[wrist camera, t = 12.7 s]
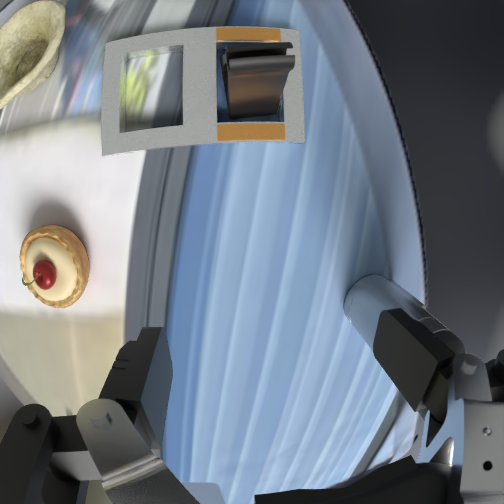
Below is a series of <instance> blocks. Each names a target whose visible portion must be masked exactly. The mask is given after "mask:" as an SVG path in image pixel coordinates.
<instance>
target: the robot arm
mask: <svg viewBox="0 0 504 504" xmlns="http://www.w3.org/2000/svg"><path fill="white" fill-rule="evenodd" d="M344 311H345V315H346V317H347V318H348V320H349V321H350V322H351V323H352V325H353V326H354V327H355V328H356V330H357V331H358V332H359V334H360V335H361V336H362V338H363V339H364V340H365V342H366V343H367V344H368V345H369V347H370V348H371V349H372V351H373V353H374V356H375V358H376V359H377V361H378V362H379V363H380V365H381V366H382V368H383V369H384V370H385V372H386V373H387V374H388V376H389V377H390V378H391V380H392V381H393V382H394V384H395V385H396V387H397V388H398V389H399V391H400V392H401V393H402V395H403V396H404V398H405V399H406V400H407V402H408V403H409V405H410V406H411V407H412V409H413V410H414V412H417V411H418V412H419V413H420V414H421V416H422V418H423V419H424V421H425V423H424V431H423V437H422V443H421V450H420V454H419V457H418V460H417V462H416V463H415V461H414V459H413V458H412V456H411V455H410V456H408V457H406V458H403V459H401V460H398V461H396V462H393V463H390V464H388V465H385V466H382V467H380V468H378V469H376V470H375V471H373V472H371V473H370V474H368V475H366V476H365V477H363V478H361V479H360V480H358V481H356V482H354V483H353V484H351V485H349V486H347V487H344V488H339V489H296V490H290V491H284V492H277V493H269V494H260V495H254V499H255V504H504V349H503V350H501V351H500V352H499V353H498V356H497V358H496V359H493V360H491V361H489V362H488V363H484V362H483V361H482V360H481V359H480V358H479V357H477V356H475V355H472V354H468V353H465V349H464V345H463V343H462V341H461V340H460V339H459V338H458V337H457V336H456V335H454V334H453V333H452V332H451V331H450V330H449V329H448V328H446V327H445V326H444V325H443V324H442V323H440V322H439V321H438V320H437V319H436V318H434V317H433V316H432V315H431V314H429V313H428V312H427V311H426V310H425V305H424V304H423V303H421V302H420V301H419V300H418V299H416V298H415V297H414V296H412V295H411V294H410V293H409V292H407V291H406V290H405V289H403V288H402V287H401V286H400V285H398V284H397V283H396V282H394V281H393V280H392V281H389V280H387V279H386V278H385V277H383V276H381V275H369V276H366V277H364V278H362V279H360V280H359V281H358V282H356V283H355V284H354V285H353V286H352V288H351V289H350V290H349V292H348V294H347V296H346V298H345V303H344ZM172 376H173V369H172V361H171V356H170V351H169V346H168V341H167V336H166V331H165V329H164V327H143V328H142V329H141V332H140V334H139V337H138V339H137V341H129V342H127V343H126V344H125V345H124V346H123V347H122V348H121V349H120V350H119V352H118V355H117V357H116V361H114V363H113V366H112V369H111V370H110V372H109V375H108V377H107V379H106V381H105V384H104V386H103V388H102V391H101V393H100V396H99V398H98V399H95V400H92V401H89V402H87V403H86V404H84V405H83V406H82V407H81V408H80V409H79V411H78V413H77V415H72V416H59V417H52V415H51V414H50V412H49V410H48V409H47V408H46V407H44V406H42V405H40V404H29V405H26V406H24V407H22V408H20V409H19V410H18V411H17V412H16V414H15V415H14V417H13V419H12V421H11V423H10V425H9V427H8V429H7V431H6V433H5V435H4V437H3V439H2V441H1V444H0V504H85V500H86V495H87V488H88V484H89V480H98V479H103V481H102V486H103V488H104V490H105V492H106V494H107V496H108V497H109V499H110V501H111V502H112V504H200V503H199V502H198V501H197V500H196V499H195V498H194V497H193V496H192V495H191V494H190V493H189V491H188V490H187V489H186V488H185V487H184V486H183V485H182V484H181V482H180V481H179V480H178V479H177V478H176V477H175V476H174V474H173V473H172V472H171V471H170V470H169V468H168V467H167V466H166V465H165V464H164V462H163V461H162V460H161V459H160V458H157V457H156V456H155V455H154V454H153V452H152V451H151V450H150V449H161V448H162V441H163V434H164V427H165V420H166V413H167V407H168V401H169V395H170V389H171V383H172Z"/></svg>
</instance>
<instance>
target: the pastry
mask: <svg viewBox="0 0 504 504" xmlns="http://www.w3.org/2000/svg"><path fill="white" fill-rule="evenodd" d="M20 260H21V270H22V272H23V278H24V280H25V282H26V283H25V282H24V280H23V278H22V283H23V284H24V285H25V286H28V289H29V290H30V291H31V292H32V293H33V294H34V296H35V297H36V298H37V299H39V300H40V301H41V302H43V303H44V304H46V305H49V306H51V307H55V308H65V307H68V306H71V305H72V304H74V303H75V302H76V301H77V300H78V299H79V298H80V296H81V295H82V293H83V291H84V290H85V287H86V285H87V282H88V278H89V259H88V256H87V252H86V250H85V247H84V246H83V244H82V242H81V241H80V239H79V238H78V237H77V236H76V235H75V234H74V233H73V232H72V231H70V230H68V229H66V228H64V227H61V226H57V225H46V226H42V227H40V228H37V229H34V230H32V231H30V232H29V233H28V234H27V236H26V237H25V239H24V241H23V243H22V246H21V251H20Z"/></svg>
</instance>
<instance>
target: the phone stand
mask: <svg viewBox="0 0 504 504" xmlns="http://www.w3.org/2000/svg"><path fill="white" fill-rule="evenodd" d="M290 48H293V45H292V43H291V42H270V43H253V44H241V45H231V46H226V52H225V54H224V55H223V56H221V57H220V61H221V68H222V74H223V80H224V87H225V93H226V99H227V106H228V112H229V118H230V119H237V118H244V117H252V116H261V115H270V114H276V113H277V110H278V107H279V103H280V100H281V97H282V94H283V90H284V87H285V84H286V80H287V77H288V74H289V72H290V71H291V70H293V68H294V66H295V55H286V54H287V53H286V52H287V49H290Z"/></svg>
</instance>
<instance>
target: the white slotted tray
mask: <svg viewBox="0 0 504 504" xmlns="http://www.w3.org/2000/svg"><path fill="white" fill-rule="evenodd" d="M270 42H291V43H292V45H293V48H290V49H287V52H286V53H287V54H286V55H295V66H294V68H293V70H291V71H290V72H289V74H288V77H287V80H286V84H285V87H284V90H283V94H282V97H281V100H280V103H279V111H280V122H223V123H217V90H216V49H226V46H231V45H241V44H253V43H270ZM176 52H183V125H179V126H169V127H160V128H152V129H145V130H138V131H131V132H126V117H125V114H126V76H127V60H130V59H136V58H141V57H147V56H153V55H160V54H168V53H176ZM101 134H102V156H113V155H119V154H126V153H133V152H141V151H148V150H157V149H166V148H176V147H188V146H201V145H218V144H243V143H297V144H299V143H305V130H304V102H303V82H302V65H301V51H300V39H299V30H294V29H284V28H271V27H248V26H225V27H202V28H189V29H179V30H171V31H163V32H156V33H150V34H144V35H139V36H134V37H129V38H124V39H120V40H116V41H111V42H107V43H106V48H105V57H104V69H103V83H102V111H101Z"/></svg>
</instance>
